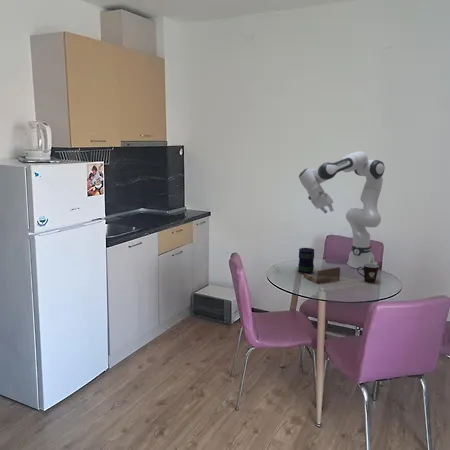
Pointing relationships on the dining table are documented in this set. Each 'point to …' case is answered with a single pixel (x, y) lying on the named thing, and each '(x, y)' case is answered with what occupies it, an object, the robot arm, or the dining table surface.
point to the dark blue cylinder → (306, 260)
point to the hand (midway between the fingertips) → (329, 212)
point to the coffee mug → (369, 272)
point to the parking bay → (325, 275)
